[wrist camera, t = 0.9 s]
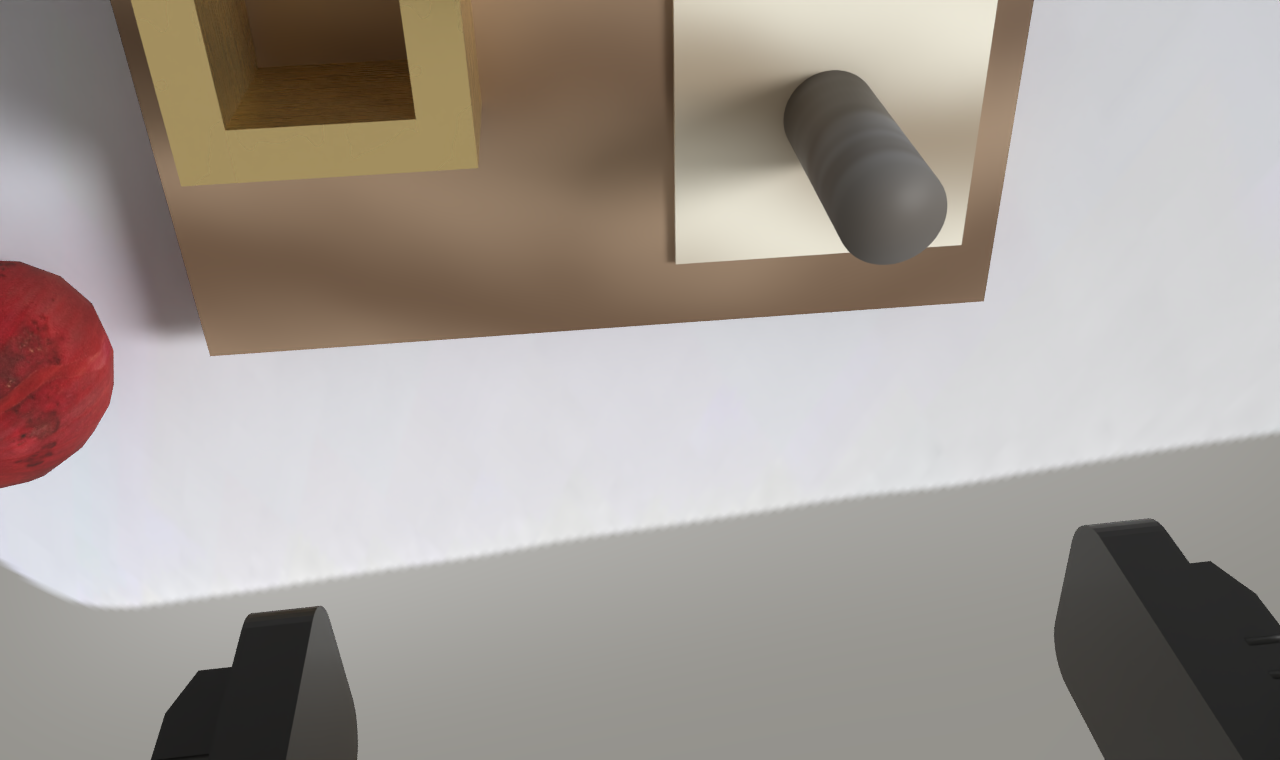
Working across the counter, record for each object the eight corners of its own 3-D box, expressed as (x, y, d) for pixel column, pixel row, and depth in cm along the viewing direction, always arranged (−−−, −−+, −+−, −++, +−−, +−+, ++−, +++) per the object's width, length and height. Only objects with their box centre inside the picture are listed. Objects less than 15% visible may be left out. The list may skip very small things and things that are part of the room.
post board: (53, -324, 24) (-116, -298, 18) (1055, -357, 26) (1243, -344, 19) (224, 319, 33) (155, 494, 27) (960, 268, 35) (1067, 422, 28)
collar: (150, -168, 24) (94, -133, 21) (451, -181, 25) (443, -148, 22) (219, 118, 28) (181, 186, 25) (481, 102, 28) (478, 168, 25)
